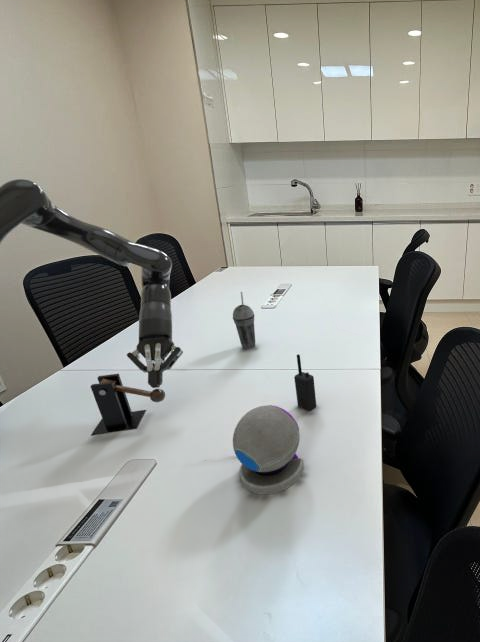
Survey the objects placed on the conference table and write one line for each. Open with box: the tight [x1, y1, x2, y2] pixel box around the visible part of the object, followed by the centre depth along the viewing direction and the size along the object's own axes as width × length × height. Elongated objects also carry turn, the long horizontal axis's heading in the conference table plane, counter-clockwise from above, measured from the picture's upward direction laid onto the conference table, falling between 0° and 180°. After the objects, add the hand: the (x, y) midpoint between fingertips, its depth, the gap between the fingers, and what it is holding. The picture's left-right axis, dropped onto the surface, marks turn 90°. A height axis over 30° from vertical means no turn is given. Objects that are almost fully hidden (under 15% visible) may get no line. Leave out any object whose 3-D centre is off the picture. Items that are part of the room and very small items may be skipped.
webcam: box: [232, 404, 305, 495], centre depth 78 cm, size 13×13×15 cm
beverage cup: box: [232, 291, 256, 350], centre depth 134 cm, size 7×7×20 cm
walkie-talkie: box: [294, 354, 317, 412], centre depth 100 cm, size 5×3×15 cm
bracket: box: [90, 373, 147, 436], centre depth 94 cm, size 10×8×13 cm
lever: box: [100, 379, 166, 403], centre depth 94 cm, size 14×3×3 cm, turn 104°
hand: (155, 386), depth 95 cm, fingers closed
